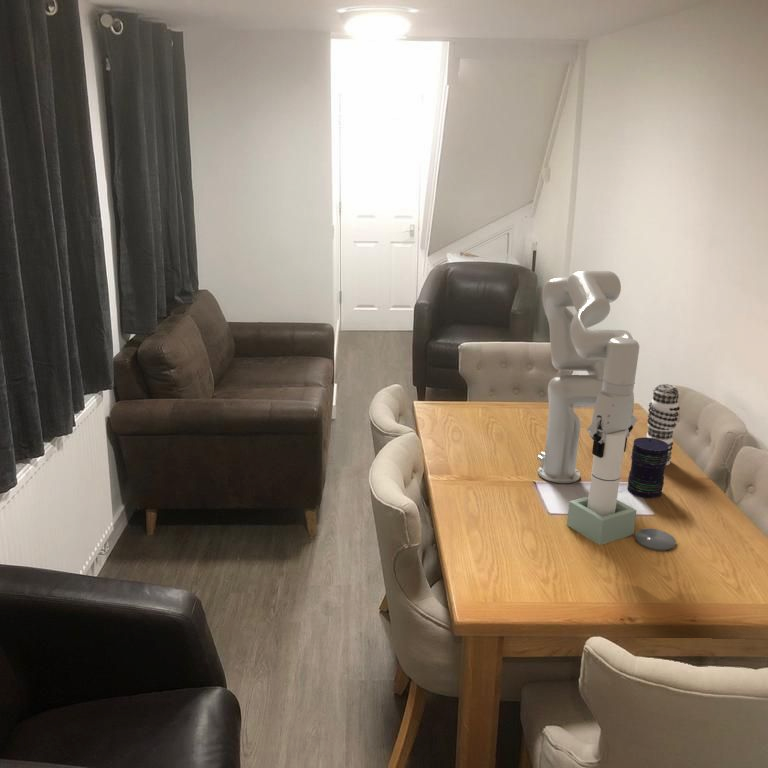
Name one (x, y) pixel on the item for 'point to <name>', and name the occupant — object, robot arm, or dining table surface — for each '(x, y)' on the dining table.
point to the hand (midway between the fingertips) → (608, 452)
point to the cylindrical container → (607, 474)
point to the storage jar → (647, 467)
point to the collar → (601, 521)
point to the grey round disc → (655, 539)
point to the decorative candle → (663, 415)
